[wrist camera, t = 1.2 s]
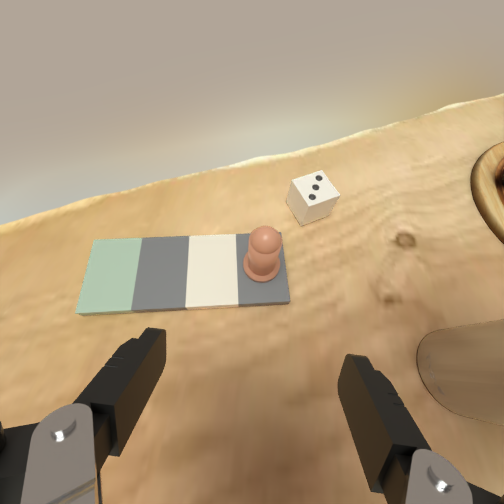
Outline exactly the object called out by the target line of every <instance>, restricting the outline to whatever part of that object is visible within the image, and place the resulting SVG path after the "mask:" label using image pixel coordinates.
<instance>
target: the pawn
mask: <svg viewBox="0 0 504 504" xmlns="http://www.w3.org/2000/svg"><path fill="white" fill-rule="evenodd" d="M281 246H282V237H281V235H280V234H279V232H278V231H276V230H275V229H274V228H272V227H270V226H261V227H259V228H256V229H255V230H254V231H252V233H251V234H250V236H249V246H248V252H247V253H246V255H245V257H244V260H243V268H244V272H245V274H246V275H247V276H248V277H249V278H250V279H251V280H253V281H255V282H258V283H265V282H269V281H271V280H272V279H274V278H275V277H276V275H277V274H278V271H279V268H280V259H279V257H278V256H279V253H280V250H281Z"/></svg>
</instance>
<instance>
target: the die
mask: <svg viewBox="0 0 504 504" xmlns="http://www.w3.org/2000/svg"><path fill="white" fill-rule="evenodd" d="M339 197H340V194H339V193H338V191H337V190H336V189H335V187H334V186H333V185H332V183H331V182H330V181H329V179H328V178H327V176H326V175H325V174H324V172H323V171H322V170H320V171H317V172H314V173H311V174H308V175H305V176H302V177H299V178H296V179H293V180H292V181H291V185H290V188H289V192H288V196H287V200H286V203H287V204H288V206H289V207H290V209H291V211H292V212H293V214H294V216H295V217H296V219H297V221H298V222H299V224H300V226H303V225H305V224H308V223H311V222H313V221H316V220H319V219H321V218H324V217H327V216H329V214H330V213H331V211H332V209H333V207H334V206H335V204H336V202H337V200H338V199H339Z"/></svg>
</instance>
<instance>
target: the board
mask: <svg viewBox="0 0 504 504" xmlns="http://www.w3.org/2000/svg"><path fill="white" fill-rule="evenodd" d="M279 234H280V235H281V232H279ZM249 236H250V234H226V235H201V236H176V237H151V238H126V239H101V240H94V242H93V246H92V249H91V253H90V257H89V261H88V265H87V269H86V273H85V277H84V281H83V285H82V288H81V292H80V296H79V300H78V304H77V308H76V312H75V313H76V314H79V315H82V316H86V315H104V314H121V313H139V312H157V311H174V310H192V309H210V308H227V307H245V306H263V305H281V304H289V302H290V296H289V288H288V281H287V273H286V266H285V258H284V251H283V244H282V246H281V250H280V253H279V256H278V257H279V259H280V268H279V271H278V274H277V275H276V277H275V278H274V279H272V280H271V281H269V282H265V283H258V282H255V281H253V280H251V279H250V278H249V277H248V276H247V275H246V274H245V272H244V268H243V260H244V257H245V255H246V253H247V252H248V246H249ZM281 237H282V236H281Z"/></svg>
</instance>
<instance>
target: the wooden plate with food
mask: <svg viewBox="0 0 504 504" xmlns="http://www.w3.org/2000/svg"><path fill="white" fill-rule="evenodd" d="M471 188H472V194H473V198H474V201H475V203H476V206H477V208H478V210H479V212H480V214H481V216H482V217H483V219H484V220H485V222H486V223H487V225H488V226H489V227H490V229H491V230H492V231H493V233H494V234H495V235H496V236H497V237H498V238H499V239H500V241H501V242H502V243H503V244H504V142H501V143H499V144H497V145H494V146H493V147H491V148H490V149H488V150H487V151H486V152H484V153H483V154H482V155H481V156H480V158H479V159H478V161H477V162H476V164H475V166H474V167H473V171H472V175H471Z"/></svg>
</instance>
